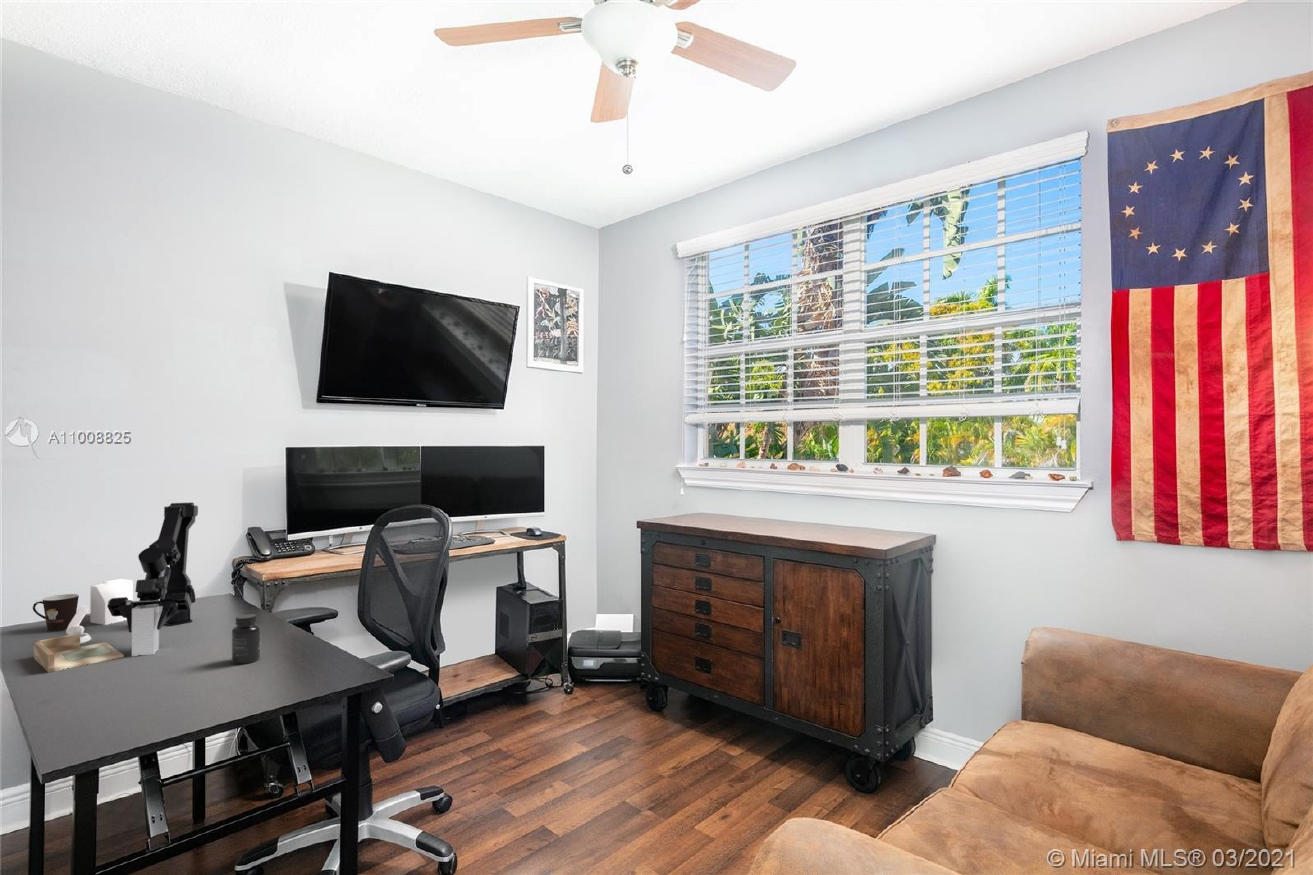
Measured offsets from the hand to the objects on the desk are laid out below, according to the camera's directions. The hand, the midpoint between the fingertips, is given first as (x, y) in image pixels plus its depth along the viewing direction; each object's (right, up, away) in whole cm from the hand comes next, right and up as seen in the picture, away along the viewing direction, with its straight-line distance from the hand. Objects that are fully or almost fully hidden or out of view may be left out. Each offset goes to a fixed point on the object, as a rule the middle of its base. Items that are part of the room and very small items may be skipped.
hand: (144, 630), depth 187 cm
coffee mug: (-47, -7, +26) cm, 54 cm away
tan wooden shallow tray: (-16, -7, -3) cm, 17 cm away
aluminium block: (-1, -7, +1) cm, 7 cm away
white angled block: (-38, -7, +37) cm, 53 cm away
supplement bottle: (+32, -7, -5) cm, 33 cm away
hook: (-30, -7, +12) cm, 33 cm away
